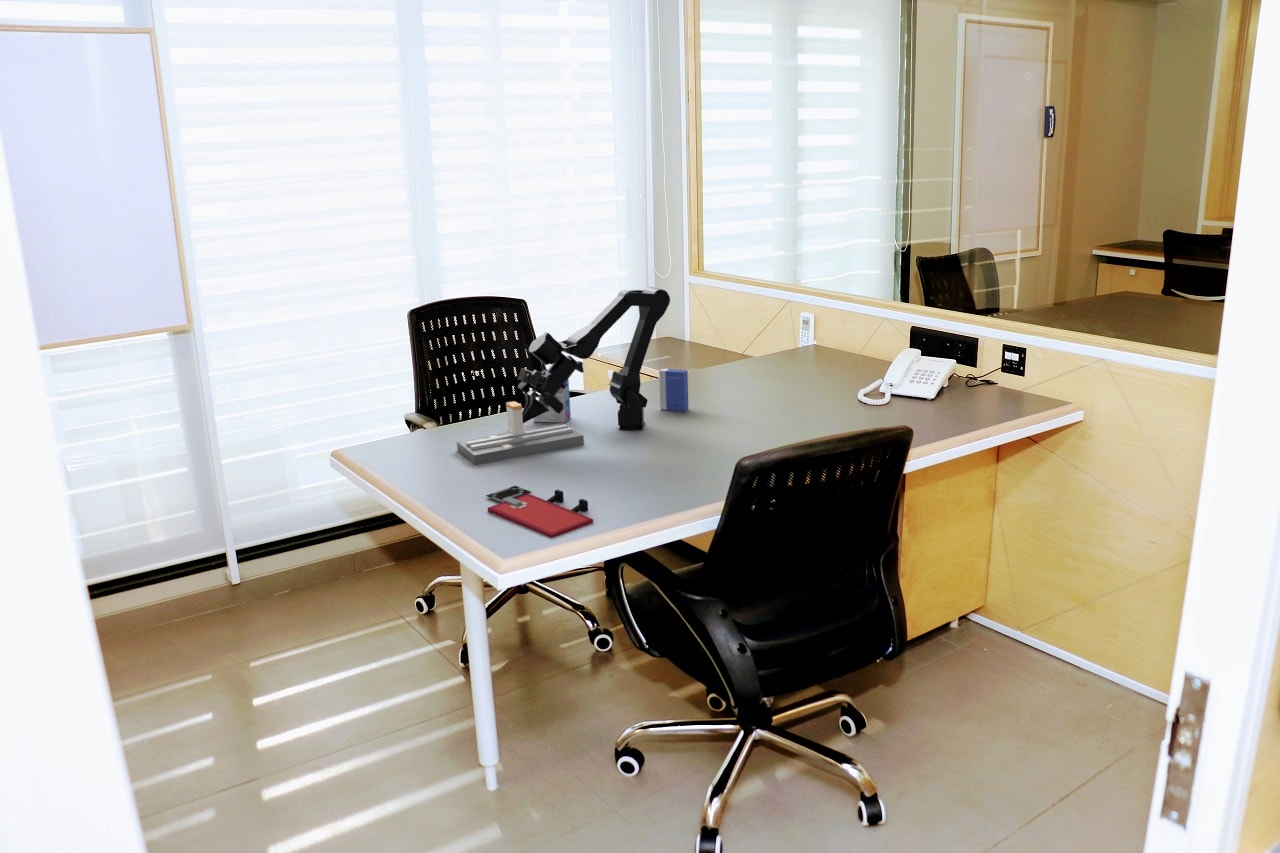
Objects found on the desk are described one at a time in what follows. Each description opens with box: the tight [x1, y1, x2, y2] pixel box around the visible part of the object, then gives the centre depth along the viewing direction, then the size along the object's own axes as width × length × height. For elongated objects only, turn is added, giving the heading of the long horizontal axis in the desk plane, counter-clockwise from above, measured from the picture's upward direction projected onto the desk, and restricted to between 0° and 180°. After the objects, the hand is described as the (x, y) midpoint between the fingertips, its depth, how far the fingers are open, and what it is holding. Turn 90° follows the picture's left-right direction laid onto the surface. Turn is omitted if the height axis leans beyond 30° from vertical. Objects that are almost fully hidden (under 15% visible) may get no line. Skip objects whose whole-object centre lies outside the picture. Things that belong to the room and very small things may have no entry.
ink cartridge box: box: [532, 368, 572, 423], centre depth 295 cm, size 10×6×14 cm, turn 78°
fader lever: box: [505, 400, 525, 438], centre depth 270 cm, size 3×6×9 cm, turn 28°
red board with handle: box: [485, 485, 594, 539], centre depth 227 cm, size 30×3×15 cm
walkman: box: [658, 368, 690, 412], centre depth 301 cm, size 8×3×12 cm, turn 63°
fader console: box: [456, 422, 585, 465], centre depth 272 cm, size 30×14×3 cm, turn 118°
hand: (520, 422), depth 271 cm, fingers closed, pressing on fader lever
